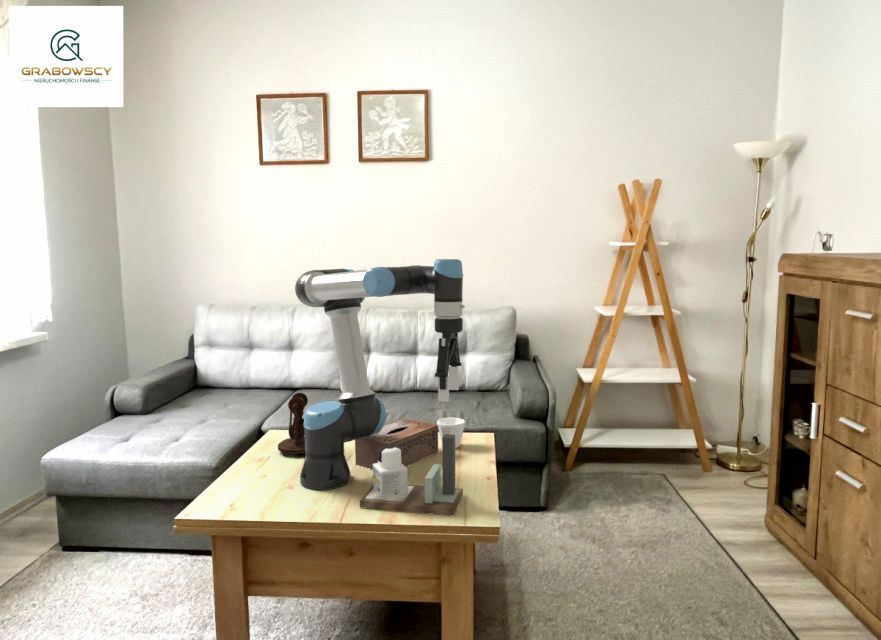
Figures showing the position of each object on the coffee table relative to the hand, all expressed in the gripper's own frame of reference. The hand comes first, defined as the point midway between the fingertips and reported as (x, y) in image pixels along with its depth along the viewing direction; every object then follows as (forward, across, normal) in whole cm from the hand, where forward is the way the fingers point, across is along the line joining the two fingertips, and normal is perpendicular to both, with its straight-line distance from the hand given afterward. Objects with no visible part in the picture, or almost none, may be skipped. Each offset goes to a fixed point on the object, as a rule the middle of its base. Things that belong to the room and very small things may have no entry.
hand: (448, 395), depth 171 cm
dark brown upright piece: (+31, +35, +60) cm, 76 cm away
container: (+29, 0, +17) cm, 33 cm away
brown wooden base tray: (+31, 0, +10) cm, 32 cm away
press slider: (+29, 0, +2) cm, 29 cm away
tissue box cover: (+31, +34, +24) cm, 52 cm away
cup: (+31, +50, +10) cm, 60 cm away
